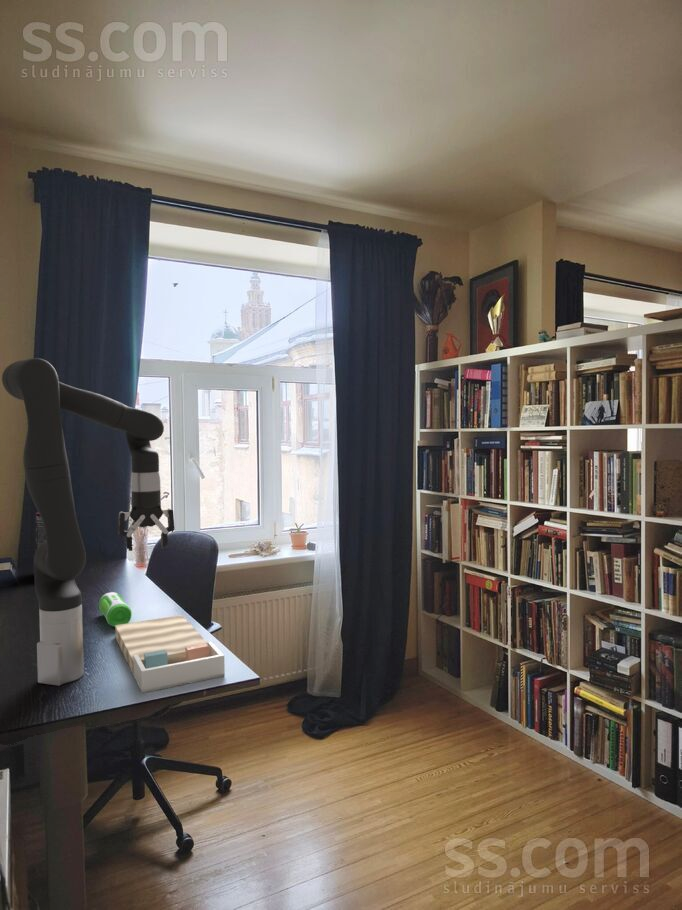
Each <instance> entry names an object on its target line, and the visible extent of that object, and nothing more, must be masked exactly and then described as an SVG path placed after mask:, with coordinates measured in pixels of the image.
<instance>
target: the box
mask: <svg viewBox="0 0 682 910" xmlns="http://www.w3.org/2000/svg"><path fill="white" fill-rule="evenodd" d="M206 642H207V645H208V654H209V657H205V658H200V659H195V660H189V661H184V662H179V663H174V664H169V665H163V666H158V667H153V668H148V669H145V667H144V665H143V663H142V661H141V660H140V658H139V656H138V654H137V655H133V662H134V675H133V677H134V679H135V680H136V682H137V683H136V684H137V685H138V687H139V690H140V691H141V694H146V693H151V692H155V691H159V690H165V689H169V688H168V687H170V688H174V687H173V686H175V687H178V686H177V685H179V686H182V685H181V684H184V685H186V684H185V683H189V684H191V683H190V682H194V683H197V682H203V681H208V680H212V679H217V678H222V677H225V676H226V675H225V672H226V671H225V670H226V669H225V654H223V652H222V651H221V650H220V649H219V648H218V647H217V645H215V644H214V642H212V641H211V640H209V641H206Z"/></svg>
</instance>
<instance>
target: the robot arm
mask: <svg viewBox="0 0 682 910" xmlns="http://www.w3.org/2000/svg"><path fill="white" fill-rule="evenodd" d="M1 381H2V385H3V388H4V390H5V391H6V392H7V393H8V394H9V395H10V396H11V397H14V398H15V399H18V400H20V401H23V403H24V408H25V413H26V419H27V431H26V436H25V437H26V438H25V442H24V448H23V454H22V455H23V456H22V457H23V458H22V460H23V464H22V465H23V471H24V476H25V480H26V482H25V483H26V486H27V489H28V493H29V495H30V497H31V499H32V502H33V504H34V506H35V508H36V509H37V513H38V512H39V514H40V516H41V518H42V521H43V524H44V527H45V532H46V540H45V541H43V542H42V543H41V544H40V545H39V546H38V548H37V549H36V548H35V553H34V556H33V576H34V590H35V595H36V598H37V599H38V601H37V602H38V608H39V609H38V611H39V613H38V616H39V642H37V643H36V655H37V656H36V657H37V658H36V659H37V661H36V664H37V683H39V684H45V685H53V686H61V685H63V684H68V683H71V682H73V681H77V680H78V679H80V678H81V677H83V675H84V674H85V672H84V671H85V670H84V668H85V667H84V638H83V637H84V636H83V635H84V634H83V598H82V597H83V596H82V592H81V590H80V589H79V587H78V585H77V583H76V580H75V579H76V578H77V577H79V576H80V574H81V573H83V570H84V568H85V566H86V562H87V554H86V550H85V549H86V548H85V545H84V541H83V538H82V534H81V530H80V527H79V524H78V523H79V522H78V519H77V513H76V508H75V507H76V506H75V500H74V499H75V498H74V493H73V487H72V479H71V477H72V476H71V473H70V466H69V465H70V464H69V459H68V455H67V450H66V443H65V436H64V429H63V426H62V425H63V423H62V418H61V416H62V414H61V410H62V411H65V412H68V413H70V414H73V415H76V416H78V417H81V418H83V419H87V420H89V421H91V422H94V423H95V424H98V425H101V426H103V427H106V428H109V429H111V430H113V431H114V430H116V431H122V432H125V433H124V434H125V438H126V442H127V446H128V450H129V453H130V456H131V461H130V462H131V477H130V500H131V501H130V503H131V504H130V505H131V507H130V508H131V509H130V512H127V511H126V512H124V511H119V513H118V524H117V525H118V527H117V532H118V534H119V535H120V536H123V537H124V538H125V547H126V549H127V550H128V551H129V552H132V551H133V534H134V532H136V531H137V529H138V528H146V527H151V528H152V527H154V526H156V527H158V529H159V530H160V531H161V533H160V543H161V544H160V545H161V546H160V547H161V548H162V549H165V548H166V546H168V542H169V541H168V539H169V538H168V534H169V533H171V532H174V531H175V529H176V528H175V517H174V515H175V514H174V510H173V509H171V508H167V509H162V503H161V502H162V501H161V499H162V497H161V494H162V493H161V491H162V489H161V477H160V457H159V452H157V451H156V450H154V449H153V448H152V446H151V442H153V441H156V440H158V439H160V437H162V436H163V433H164V432H165V430H164V429H165V425H164V423H163V421H162V419H160V417H159V416H158V415H156V414H154V413H151V412H148V411H145V410H141V409H138V408H136V407H131V406H128V405H126V404H124V403H122V402H120V401H117V400H115V399H112V398H110V397H108V396H105V395H103V394H100V393H96V392H93V391H89V390H86V389H81V388H77V387H74V386H71V385H69V384H65V383H63V382H61V381H59V375H58V373H57V371H56V369H55V367H54V366H53V365H52V364H51V363H50V362H49V361H48V360H45V359H44V358H39V357H34V358H28V359H27V358H26V359H22V360H17V361H14V362H12V363H10V364H9V365H7V366H6V367H5V368H4V371H3V372H2V375H1ZM163 515H164V517H165V518H167V527H165V526H164V524H163V523H162V522H161V521H160V519H161V518H162V516H163ZM129 517H130V519H132V522H131V524H130V526H129V527H128V529H127V530H125V523H126V522H125V521H127V520H128V518H129Z"/></svg>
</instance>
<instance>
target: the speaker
mask: <svg viewBox="0 0 682 910" xmlns="http://www.w3.org/2000/svg"><path fill="white" fill-rule="evenodd" d="M98 608H99V611H100V613H102V615H103V616H104V617H105V619H106V620H105V621H106V622H107V624H108V625H110V626H111V627H113V628H115V625H120V624H126V623H130V621H131V620H132V619H131V618H132V609H131V607H130V605H128V604H127V602H125V600H124V599H123V596H121V595H120V594H119V593H117V592H115V591H114V592H113V591H110V592H107V593H105V594H103V595H102V596H101V597H100V599H99V602H98Z"/></svg>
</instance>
